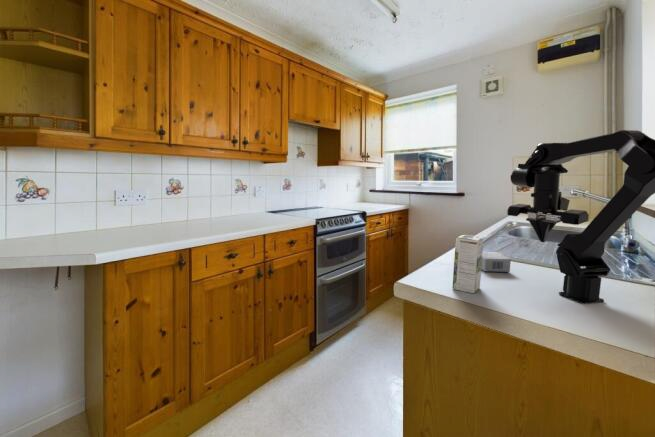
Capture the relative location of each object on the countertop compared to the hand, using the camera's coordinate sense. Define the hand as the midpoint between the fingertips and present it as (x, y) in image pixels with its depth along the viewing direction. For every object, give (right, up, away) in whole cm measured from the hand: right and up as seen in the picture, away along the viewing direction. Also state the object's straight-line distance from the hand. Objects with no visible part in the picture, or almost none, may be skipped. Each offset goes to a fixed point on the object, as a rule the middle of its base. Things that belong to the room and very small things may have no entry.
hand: (543, 241), depth 89 cm
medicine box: (-9, -8, +7) cm, 14 cm away
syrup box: (-25, -13, -6) cm, 29 cm away
